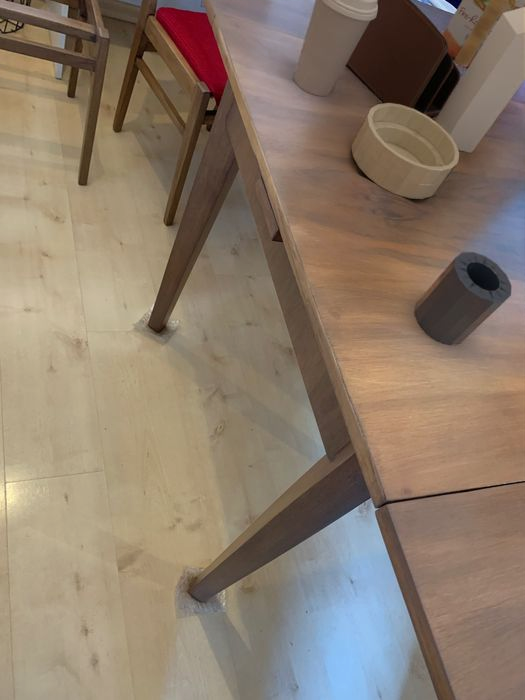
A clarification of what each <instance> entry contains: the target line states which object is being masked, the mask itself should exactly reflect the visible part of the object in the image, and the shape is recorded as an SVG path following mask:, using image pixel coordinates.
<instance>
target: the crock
mask: <svg viewBox="0 0 525 700" xmlns="http://www.w3.org/2000/svg"><path fill="white" fill-rule="evenodd" d="M511 296H512V284H511V281H510V280H509V277H508V274H507V273H505V271H504V270H503V269H502V267H500V266H499V264H498V263H496V262H495V261H493V260H492V259H490V258H489V257H487V256H486V255H484V254H480V253H477V252H474V251H465V252H464V251H463V252H461V253H459V254H458V255H456V256H455V258H454V259H452V261H451V262H450V263H449V264H448V266H447V267H446V268H445V269H444V270H443V271H442V273H440V275H439V276H438V277H437V278H436V279H435V281H434V282H433V283H432V284H431V286H430V287H429V288H428V289H427V290H426V291H425V292H424V293H423V295H421V296H420V298H419V299H418V301H416V303H415V307H414V316H415V320H416V321H417V324H418V325H419V327H420V329H422V331H423V332H424V333H425V334H426V335H427V336H428V337H430V338H431V339H433V340H434V341H436V342H438V343H441V344H444V345H447V346H448V345H449V346H455V345H460V344H462V343H463V342H464V341H465V340H466V339H467V338H468V337H469V336H470V335H471V334H472V333H474V332H475V330H477V328H479V326H481V325H482V324H483V323H484V322H485V321H486V320H487V319H488V318H489V317H490V316H492V314H493V313H494V312H495V311H497V310H498V309H499V308H500V307H501V306H502V305H503V304H504V303H505V302H506V301H507V300H508V299H509V298H510V297H511Z"/></svg>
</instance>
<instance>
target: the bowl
mask: <svg viewBox="0 0 525 700" xmlns="http://www.w3.org/2000/svg"><path fill="white" fill-rule="evenodd" d="M459 151H460V150H458V148H457V145H456V143H455V142H454V140H453V139H452V137H451V136H450V135H449V133H447V132H446V131H445V130H444V129H443V128H442V127H441V126H440V125H439V124H438V123H437V122H435V119H432V117H428V116H427V115H425V114H423V113H421V112H419V111H417V110H415V109H413V108H410V107H407V106H404V105H400V104H393V103H384V102H383V103H379V104H375V105H374V106H372V107H371V108H370V109H369V111H368V113H367V114H366V116H365V119H364V120H363V123H362V124H361V126H360V128H359V130H358V131H357V134H356V136H355V138H354V139H353V142H352V144H351V152H352V153H351V154H352V157H353V159H354V160H355V163H356V164H357V167H358V168H359V169H360V170H361V172H363V174H364V175H365V176H366V177H367V178H368V179H369V180H371V181H372V182H373V183H375V184H377V185H378V186H379V187H380V188H382V189H384V190H386V191H388V192H390V193H392V194H394V195H397V196H401V197H404V198H407V199H415V200H417V199H418V200H419V199H420V200H423V199H426V198H427V199H428V198H430V197H433V196H434V195H435V194H436V193H437V192H438V191H439V190H440V188H441V187H442V185H443V184H444V183H445V181H446V180H447V179H448V177H449V175H450V174H451V173H452V172H453V170H454V169H455V167H456V166H457V165H458V163H459V159H460V152H459Z"/></svg>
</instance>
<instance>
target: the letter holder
mask: <svg viewBox="0 0 525 700" xmlns="http://www.w3.org/2000/svg"><path fill="white" fill-rule="evenodd" d="M377 5H378V11H377V16H376V18H375V19H373V20H371V21H370V22H369V24H368V26H367V28H366V29H365V31H364V33H363V35H362V37H361V38H360V40H359V42H358V44H357V46H356V47H355V49H354V51H353V53H352V55H351V56H350V58H349V60H348V62H347V64H346V65H345V66H347V67H348V68H349V69H350V70H351V71H352V72H353V73H354V74H355V75H356V76H357V77H358V78H359V79H360V80H361V81H362V82H363V83H364V84H365V86H367V87H368V89H370V91H371V92H373V93H374V95H376V97H377V98H378V99H379V100H380V101H381V102H383V104H384V103H393V104H400V105H404V106H407V107H410V108H413V109H415V110H417V111H419V112H421V113H423V114H425V115H427V116H428V117H430V118H432V117H437V116H438V115H439V113H440V112H441V110H442V108H443V107H444V105H445V104H446V102H447V101H448V99H449V97H450V96H451V94H452V93H453V91H454V89H455V88H456V86H457V85H458V83H459V82H460V80H461V78H462V74H461V71H460V70H459V68H458V66H457V64H456V62H454V58H453V57H452V56H451V55H450V54H449V52H448V51H447V50H448V43H447V41H446V40H445V38H444V36H443V33H441V31H440V30H439V29H438V27H437V26H436V25H435V24H434V23H433V22H432V21H431V20H430V19H429V17H428V16H427V15H426V14H425V13H424V12H423V11H422V10H421V9H420V8H419V7H418V6H417V5H416V4H415V3H414V2H413V1H412V0H378V1H377Z"/></svg>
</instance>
